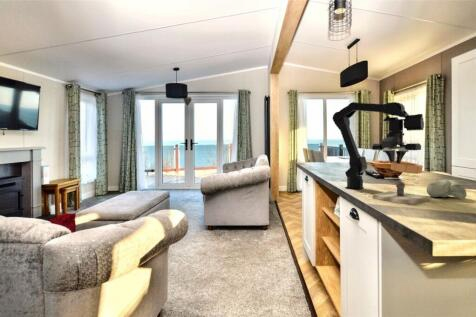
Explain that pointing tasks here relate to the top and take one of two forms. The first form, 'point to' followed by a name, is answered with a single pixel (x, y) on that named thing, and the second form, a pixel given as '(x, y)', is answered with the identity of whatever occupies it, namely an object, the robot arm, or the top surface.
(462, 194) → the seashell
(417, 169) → the orange ring
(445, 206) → the top surface
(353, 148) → the robot arm
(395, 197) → the hook stand
